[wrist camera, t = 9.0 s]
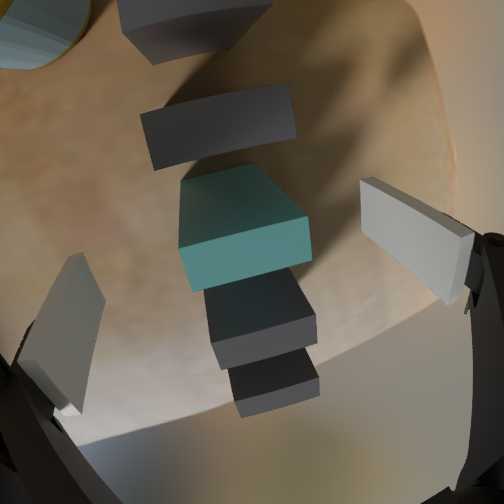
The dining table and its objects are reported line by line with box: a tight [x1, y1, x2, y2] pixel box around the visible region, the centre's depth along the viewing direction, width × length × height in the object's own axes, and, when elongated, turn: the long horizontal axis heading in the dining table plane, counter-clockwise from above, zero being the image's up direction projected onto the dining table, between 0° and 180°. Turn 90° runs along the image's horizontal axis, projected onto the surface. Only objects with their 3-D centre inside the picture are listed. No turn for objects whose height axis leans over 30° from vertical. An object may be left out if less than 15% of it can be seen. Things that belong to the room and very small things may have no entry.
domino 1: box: [117, 0, 273, 65], centre depth 12 cm, size 2×5×10 cm, turn 100°
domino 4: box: [203, 267, 317, 370], centre depth 19 cm, size 2×5×10 cm, turn 100°
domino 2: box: [140, 83, 297, 171], centre depth 14 cm, size 2×5×10 cm, turn 100°
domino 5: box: [228, 347, 320, 418], centre depth 21 cm, size 2×5×10 cm, turn 100°
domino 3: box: [178, 163, 312, 292], centre depth 16 cm, size 2×5×10 cm, turn 100°
